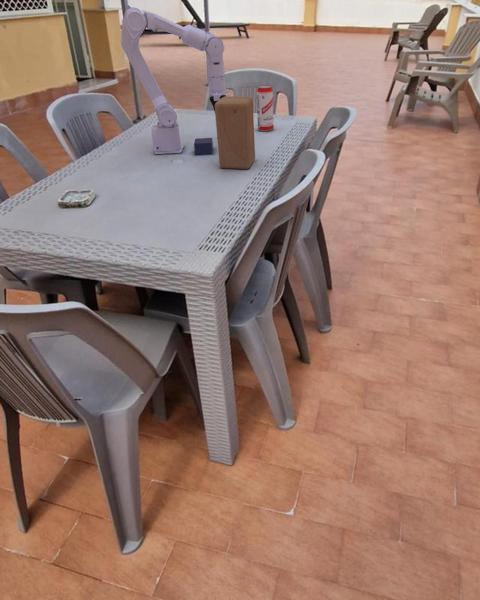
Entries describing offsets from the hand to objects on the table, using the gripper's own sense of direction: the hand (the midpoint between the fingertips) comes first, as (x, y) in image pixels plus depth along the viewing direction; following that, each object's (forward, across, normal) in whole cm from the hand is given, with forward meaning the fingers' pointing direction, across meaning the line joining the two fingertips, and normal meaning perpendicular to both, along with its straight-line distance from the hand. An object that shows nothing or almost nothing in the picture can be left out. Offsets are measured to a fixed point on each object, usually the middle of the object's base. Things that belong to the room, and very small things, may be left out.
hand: (219, 118), depth 164 cm
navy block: (+9, -8, +6) cm, 13 cm away
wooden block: (+10, -22, -6) cm, 25 cm away
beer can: (+10, +17, -17) cm, 26 cm away
